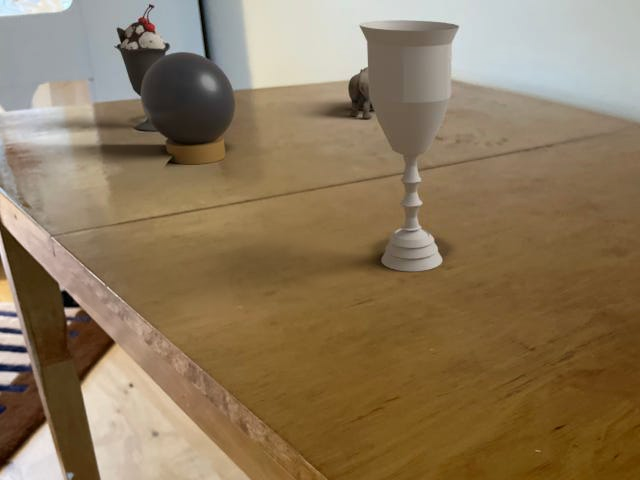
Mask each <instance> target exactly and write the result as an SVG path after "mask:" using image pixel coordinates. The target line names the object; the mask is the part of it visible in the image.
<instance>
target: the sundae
mask: <svg viewBox="0 0 640 480" xmlns="http://www.w3.org/2000/svg"><path fill="white" fill-rule="evenodd" d="M153 9H155V4H151V3H149V4H148V7H147V8H146V9H145V11H144V13H143V16H140V17H139V18H137V21H136V22H133V23H131V24H129V25H128V27H127V28H125V29H123V28H121V27H116V32H117V35H118V36H117V37H118V38H119V42H120V43H118V44H117V45H114V46H113V48H115V49H117V50H118V51H119V52H120V55H121V58H122V61H123V63H124V66H125V70H126V73H127V76H128V80H129V83H130V84H131V88H132V90H133V91H134V92H135V93H136V94H137V95H138V96H139V97H141V86H142V82H143V79H144V76H145V74H146V72H147V71H148V69H149V68H150V66H151V65H152V64H153V63H154V62H156V61H157V60H158V59H160V58H162V57H163V56H166V53H167V52H168V51H169V50H170V48H171V45H170V43H168V42H165V41H164V39H163V37H162V36H161V35H160V34H159V33H158V32H156V31H155V30H156V25H155V24H154V23H151V22H150V19H149V14H150V12H151V11H152V10H153ZM146 118H147V117H146ZM135 129H137V130H139V131H142V132H143V131H144V132H158V131H157V130H156V129H155V128H154V127H153V126H152V124H151V123H150V121H149V120H148V118H147V119H146V120H145V121H144V122H140V123H138V124H136V125H135Z"/></svg>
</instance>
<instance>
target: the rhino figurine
mask: <svg viewBox="0 0 640 480" xmlns="http://www.w3.org/2000/svg"><path fill="white" fill-rule="evenodd" d="M349 79H350V80H349V82H348V88H347V90H348V96H349V98H350V100H351V109H350V111H349V116H351V117H358V116H359V115H360V112H359V110H362V116H361V117H362V119H373V115H372V114H371V113H370V111H374V108H373V106H372V103H371V100H370V97H369V82H368V66H366V67H364V68H360V71H359V73H356V74H355V75H353V76H351V78H349Z"/></svg>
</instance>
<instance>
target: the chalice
mask: <svg viewBox="0 0 640 480" xmlns="http://www.w3.org/2000/svg"><path fill="white" fill-rule="evenodd" d="M358 26H359V28H360V30H361V32H362V35H363V36H364V39H365V40H366V50H367V52H366V53H367V67H368V82H369V97H370V100H371V103H372V106H373V108H374V110H373V112H374V115H375V117H376V119H377V122H378V124H379V126H380V128H381V130H382V132H383V135H384V136H385V138H386V140H387V142H388V145H389V146H390V147H391V150H392V151H393V152H395V153H397V154H399V155H402V156H403V160H404V170H403V176H402V177H401V179H400V181H401V183H402V185H403V187H404V190H405V193H404V197H403V199H402V200H401V201H400V203H399V204H400V205H401V206H402V207H403V210H404V214H405V220H404V225H402V226H401V228H399V229H397V230H395V231H394V232H393V233H392V235H391V236H390V237H389V239H388V243H387V245H386V246H385V251H384V254H382V257H381V263H382V264H383V266H385V267H387V268H389V269H392V270H395V271H399V272H400V271H401V272H423V271H424V272H425V271H429V270H432V269H435V268H437V267H439V266H441V264H442V263H443V257H442V255H441V254H440V252H439V247H438V246H437V244H436V242H435V237H434V236H433V235H432V234H431V232H429V231H428V230H426V229H424V228H422V226H421V225H420V224H419V219H418V214H419V210H420V207H421V206H422V205H423V201H422V200H421V199H420V197H419V193H418V189H419V185H420V183H421V182H422V178H421V177H420V175H419V170H418V161H419V156H420V155H423V154H424V153H426V152H428V151H430V149H431V147H432V145H433V142H434V140H435V139H436V136H437V135H438V133H439V130H440V128H441V126H442V124H443V122H444V119H445V116H446V112H447V110H448V106H449V104H450V102H451V97H452V54H453V53H452V51H453V49H452V48H453V47H452V43H453V41H454V39H455V37H456V35H457V33H458V30H459V29H460V26H459V25H458V24H455V23H449V22H442V21H431V20H404V19H403V20H402V19H400V20H397V19H395V20H391V19H390V20H371V21H364V22H360V23H359V24H358Z"/></svg>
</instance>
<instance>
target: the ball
mask: <svg viewBox="0 0 640 480" xmlns="http://www.w3.org/2000/svg"><path fill="white" fill-rule="evenodd" d="M140 101H141V106H142V109H143V111H144V114H145V116H146V118H148V120H149V121H150V123H151V124H152V126H153V127H154V128H155V129H156V130H157V131H156V132H158V133H159V134H160V135H162V136H163V137H164V138H166V140H165V141H164V143H165V148H166V152H167V154H170V155H172V156H171V157H170V159H169V160H168V161H169V162H171V163H174V164H180V165H204V164H211V163H216V162H220V161H222V160H224V159H225V158H226V156H227V155H226V148H225V139H224V138H223V136H222V135H224V134H225V132H226V131H227V130H228V129H229V128H230V126H231V123H232V121H233V119H234V116H235V111H236V97H235V91H234V89H233V86H232V83H231V81H230V79H229V78H228V76H227V74H226V73H225V72H224V71H223V69H222V68H221V67H220V66H218V64H216V63H215V62H213V61H212V60H210V59H209V58H207V57H205V56H203V55H201V54H197V53H195V52H187V51H178V52H173V53H171V52H170V53H169V54H165V56H163V57H162V58H160V59H158V60H157V61H156V62H154V63H153V64H152V65H151V66H150V68H149V69H148V71H147V72H146V74H145V76H144V79H143V82H142V86H141V96H140Z"/></svg>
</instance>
